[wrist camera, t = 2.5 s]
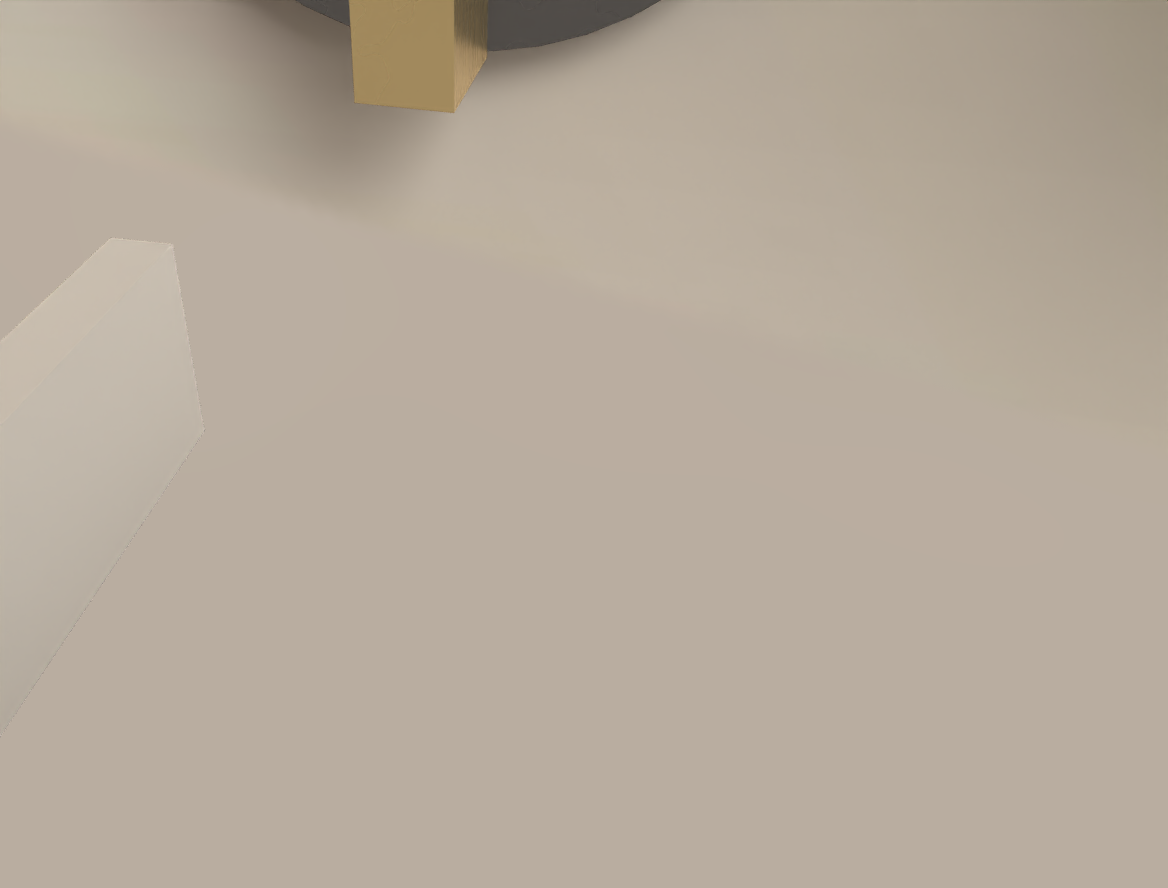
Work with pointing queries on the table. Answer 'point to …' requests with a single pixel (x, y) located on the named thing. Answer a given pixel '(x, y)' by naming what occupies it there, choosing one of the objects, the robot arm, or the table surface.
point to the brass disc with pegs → (417, 51)
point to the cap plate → (527, 18)
